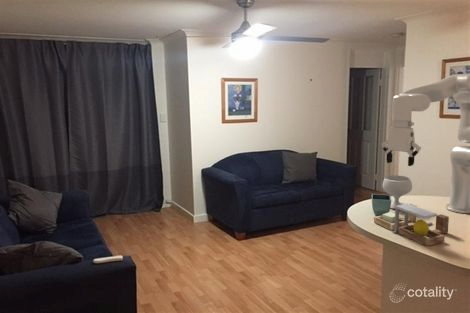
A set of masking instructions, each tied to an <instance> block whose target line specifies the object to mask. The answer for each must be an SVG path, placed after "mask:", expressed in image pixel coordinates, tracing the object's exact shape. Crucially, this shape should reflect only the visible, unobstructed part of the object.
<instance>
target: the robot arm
mask: <svg viewBox="0 0 470 313" xmlns="http://www.w3.org/2000/svg"><path fill="white" fill-rule="evenodd" d="M451 97H453V99H454V102H455V103H456V104H457V105H458V107H459V110H460V118H459V124H458V130H457V139H458V141H459V142H461V143H464V144H465V143H466V144H470V73H461V74H459V73H458V74H451V75H449V76H447V77H444V78H442V79H440V80H437V81H434V82H432V83H429V84H426V85H422V86H418V87H414V88H411V89H409V90H406V91H404V92H401V93H400V94H397V95H394V96H393V97H392V107H391V108H392V109H391V110H392V111H391V127H389V128H390V129H389V132H388V139H387V140H386V141H384V142H382V143H381V146H382V148H383V151H384V152H385V154H386V163H387V164H391V163H393V153H392V152H393V151H394V152H405V153H407V154H408V158H407V159H408V160H407V166H408V167H411V166H412V167H413V166H414V165H415V157H416V156H418V155H417V154H419V153H420V151H421V149H422V146H421V145H419V144H417V143H416V141H415V131H414V127H412V126H415V122H414V121H413V122H412V115H413V114H412V113H413V112H418V113H419V112H425V111H426V110H427V109H429V108H430V105H431V103H436V102H438V103H439V102H441V101H444V100H446V99H448V98H451ZM449 154H450V155H449V157H450V164H451V175H450V177H451V179H450V195H449V196H450V197H449V203H447V204H446V205H445V208H446V210H448V211H451V212H453V213H460V214H470V145H469V146H468V145H457V146H454V147H453V148H452V149H451V151H450V153H449Z"/></svg>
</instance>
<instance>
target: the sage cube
mask: <svg viewBox="0 0 470 313" xmlns="http://www.w3.org/2000/svg"><path fill="white" fill-rule="evenodd" d="M382 220H385V221H387V222H390V223H392V224H393V223H395V212H394V213H393V212H390V211H389V212H388V213H385V214H382Z"/></svg>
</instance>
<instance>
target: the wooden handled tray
mask: <svg viewBox="0 0 470 313" xmlns="http://www.w3.org/2000/svg"><path fill="white" fill-rule="evenodd" d="M449 217H450V216H448V215H445V214H443V213H442V214H437V216H435V229H433V230H431V229H429V230H428V234H427V235H426V236H427V237H428V238H427V237H426V236H424V237H423V236H421V235H418V234H416V233H415V232H414V224H415V223H411V224H408V225H406V226H402V227H398V233H397V234H400V235H401V236H404V237H406V238H408V239H411V240H413V241H414V242H418V243H419V244H422V245H424V246H427V247H429V246H433V245H437V244H440V243H445V237H446V236H445V234H448V233H449V221H450V220H449V219H450V218H449Z"/></svg>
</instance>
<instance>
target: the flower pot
mask: <svg viewBox="0 0 470 313" xmlns="http://www.w3.org/2000/svg"><path fill="white" fill-rule="evenodd" d="M391 202H392V195H391V194H379V193H378V194H376V193H375V194H374V193H372V194H371V206H372V208H371V209H372V211H373V214H374V215H375V217H377V216H381V215H382V214H385V213H388V212H390V211H391V208H390V207H391Z"/></svg>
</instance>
